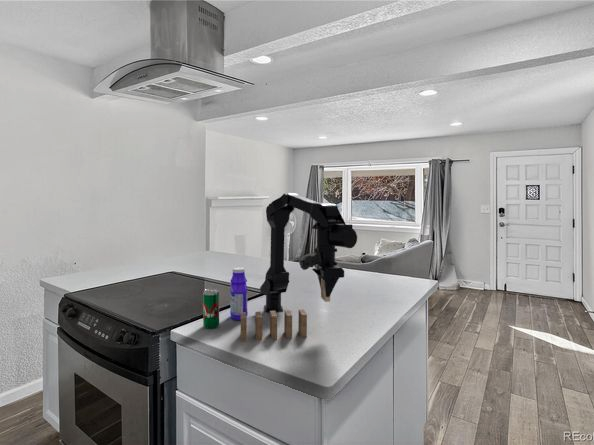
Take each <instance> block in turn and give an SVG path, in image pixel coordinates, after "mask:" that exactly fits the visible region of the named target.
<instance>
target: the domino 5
mask: <svg viewBox="0 0 594 445" xmlns="http://www.w3.org/2000/svg"><path fill="white" fill-rule="evenodd" d="M297 320H298V321H297V322H298V325H297V326H298V329H297V330H298V332H299V335H300V337H301V338H307V337H308V331H307V330H308V314H307V312H306V311H305V309H303V308H302V309H300V308H299V309H298V319H297Z"/></svg>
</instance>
